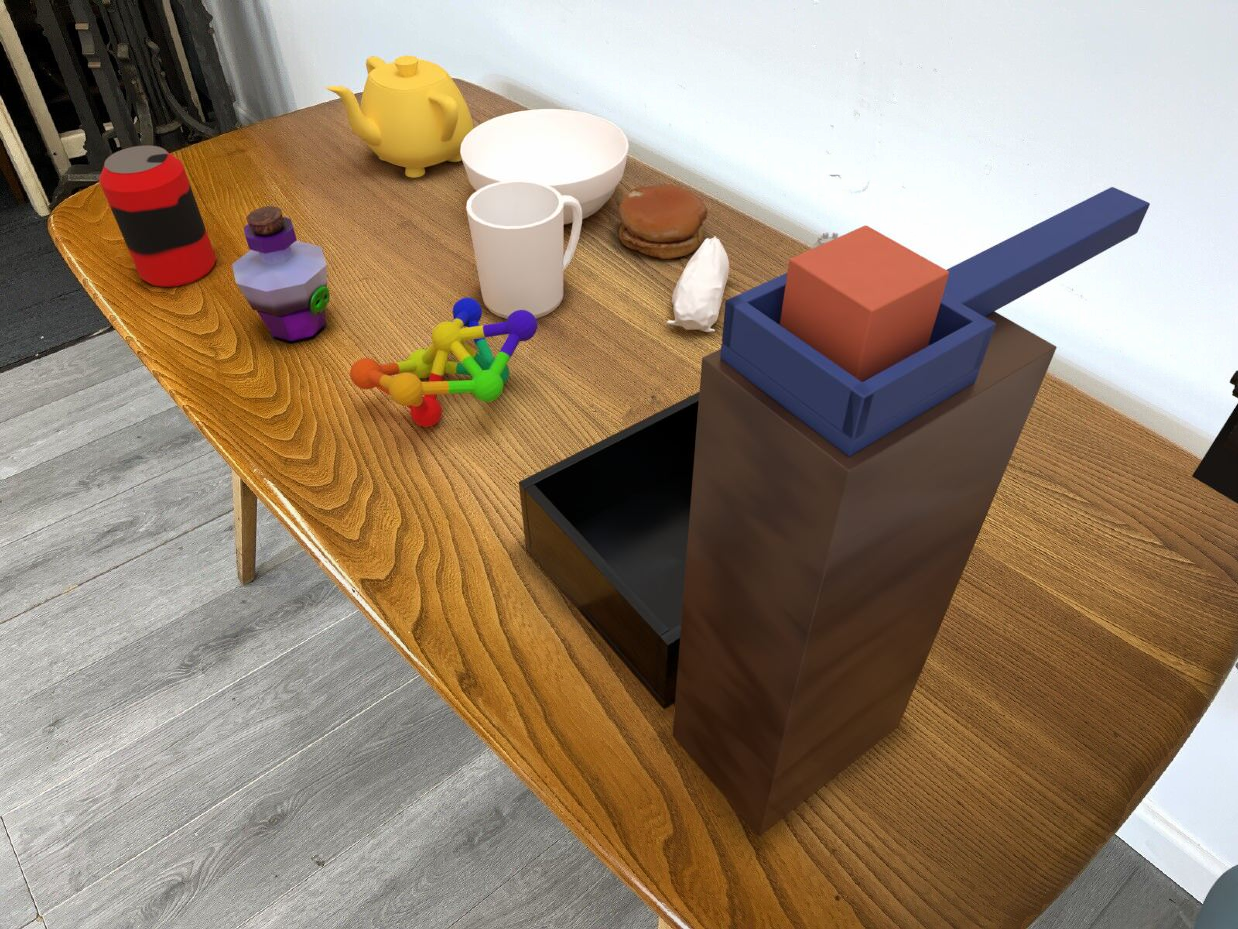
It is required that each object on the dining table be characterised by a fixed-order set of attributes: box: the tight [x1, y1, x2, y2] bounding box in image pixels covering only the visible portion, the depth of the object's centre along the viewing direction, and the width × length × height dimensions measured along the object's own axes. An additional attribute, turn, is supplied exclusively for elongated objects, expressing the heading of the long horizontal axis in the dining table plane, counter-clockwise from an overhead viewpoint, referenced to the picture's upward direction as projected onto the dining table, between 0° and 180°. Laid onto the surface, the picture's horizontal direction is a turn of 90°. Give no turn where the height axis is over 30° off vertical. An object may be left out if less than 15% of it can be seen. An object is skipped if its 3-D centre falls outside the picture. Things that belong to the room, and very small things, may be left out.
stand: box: [672, 311, 1058, 837], centre depth 47 cm, size 8×12×30 cm, turn 126°
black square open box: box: [518, 391, 700, 711], centre depth 65 cm, size 17×17×7 cm
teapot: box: [325, 55, 474, 178], centre depth 109 cm, size 14×14×12 cm
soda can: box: [98, 145, 217, 288], centre depth 91 cm, size 8×8×12 cm
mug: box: [465, 180, 583, 320], centre depth 88 cm, size 11×9×10 cm
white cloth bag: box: [666, 235, 730, 333], centre depth 89 cm, size 5×7×10 cm
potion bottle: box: [231, 205, 331, 345], centre depth 84 cm, size 9×9×12 cm
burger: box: [618, 184, 708, 260], centre depth 98 cm, size 10×9×5 cm
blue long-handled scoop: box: [720, 186, 1151, 456], centre depth 38 cm, size 7×22×3 cm, turn 126°
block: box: [780, 225, 949, 382], centre depth 34 cm, size 4×4×4 cm
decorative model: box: [349, 297, 538, 428], centre depth 78 cm, size 13×9×15 cm
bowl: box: [460, 108, 630, 225], centre depth 102 cm, size 18×18×7 cm
